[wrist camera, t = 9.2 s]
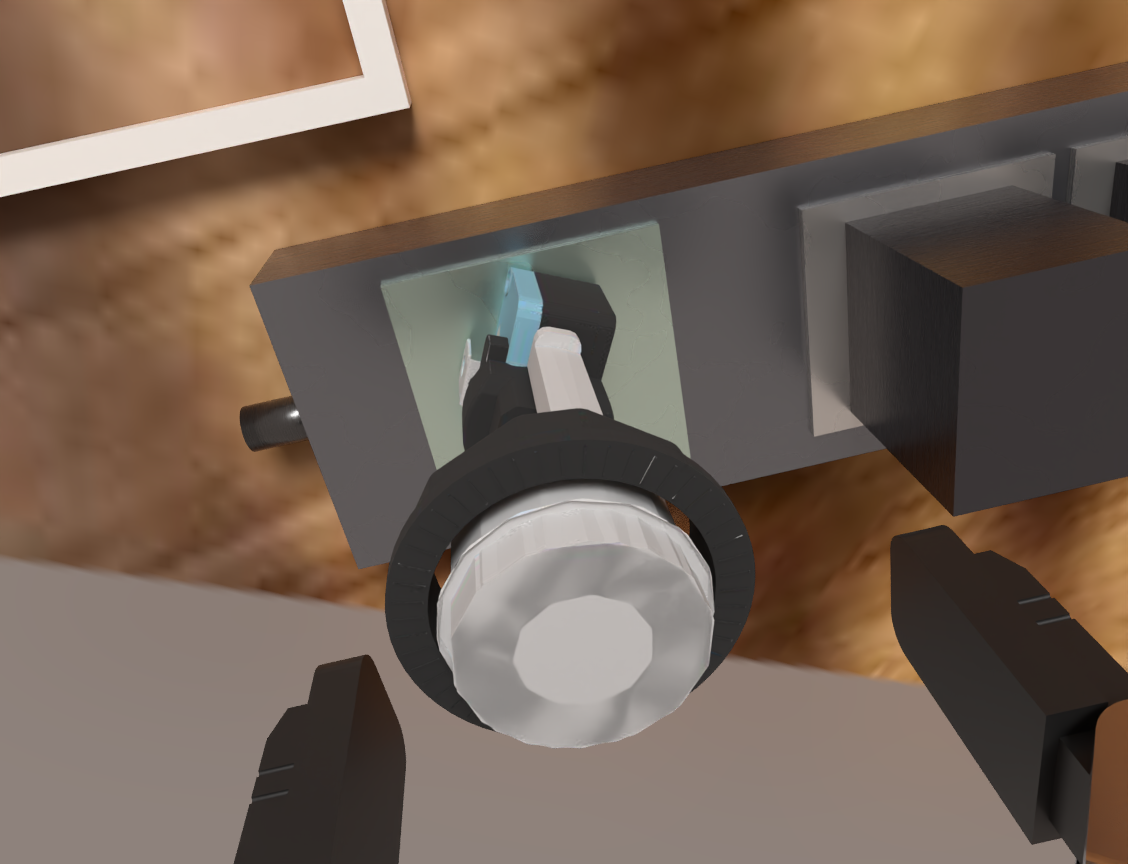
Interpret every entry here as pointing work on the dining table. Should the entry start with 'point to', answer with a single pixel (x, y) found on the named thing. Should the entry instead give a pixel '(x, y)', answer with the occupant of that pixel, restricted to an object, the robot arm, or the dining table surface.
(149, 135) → the empty frame
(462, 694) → the push button
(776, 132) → the dining table surface
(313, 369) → the power strip
